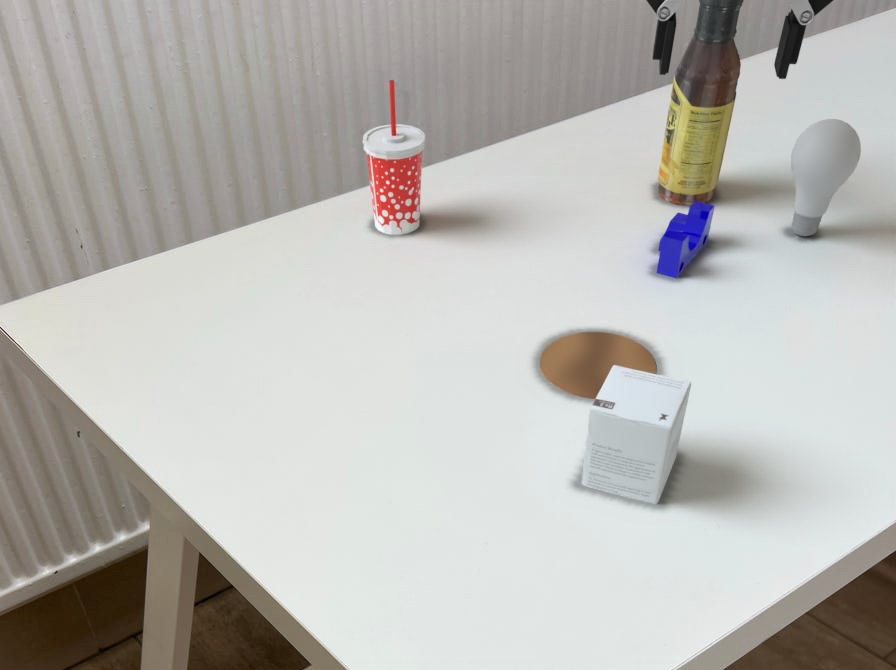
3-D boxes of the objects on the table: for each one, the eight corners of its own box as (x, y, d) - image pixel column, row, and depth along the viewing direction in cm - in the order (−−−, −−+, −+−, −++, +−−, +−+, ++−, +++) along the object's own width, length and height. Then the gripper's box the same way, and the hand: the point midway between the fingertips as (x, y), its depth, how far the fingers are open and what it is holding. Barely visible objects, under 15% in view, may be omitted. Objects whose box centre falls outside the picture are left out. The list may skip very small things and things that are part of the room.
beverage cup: (438, 230, 100) (437, 84, 89) (387, 247, 98) (379, 99, 88) (407, 207, 104) (402, 63, 93) (357, 223, 102) (347, 78, 91)
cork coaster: (634, 329, 88) (635, 325, 87) (671, 394, 81) (672, 390, 81) (527, 342, 87) (527, 338, 86) (555, 409, 80) (556, 405, 80)
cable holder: (673, 236, 98) (680, 197, 95) (706, 245, 97) (714, 205, 94) (641, 272, 94) (648, 232, 91) (675, 281, 93) (683, 241, 90)
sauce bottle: (664, 178, 106) (700, -34, 91) (721, 189, 105) (767, -27, 89) (646, 204, 103) (681, -13, 88) (704, 216, 101) (750, -4, 86)
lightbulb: (773, 218, 100) (803, 104, 92) (835, 226, 99) (871, 112, 90) (767, 246, 96) (797, 131, 88) (831, 255, 95) (868, 139, 87)
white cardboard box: (676, 459, 76) (694, 379, 70) (656, 508, 72) (674, 428, 67) (600, 441, 77) (612, 361, 72) (578, 488, 74) (588, 408, 68)
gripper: (892, -203, 70) (821, 57, 84) (650, -203, 72) (618, 51, 85) (910, -180, 66) (832, 92, 79) (650, -181, 68) (617, 84, 81)
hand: (721, 70), depth 82 cm, fingers open, 9 cm apart
